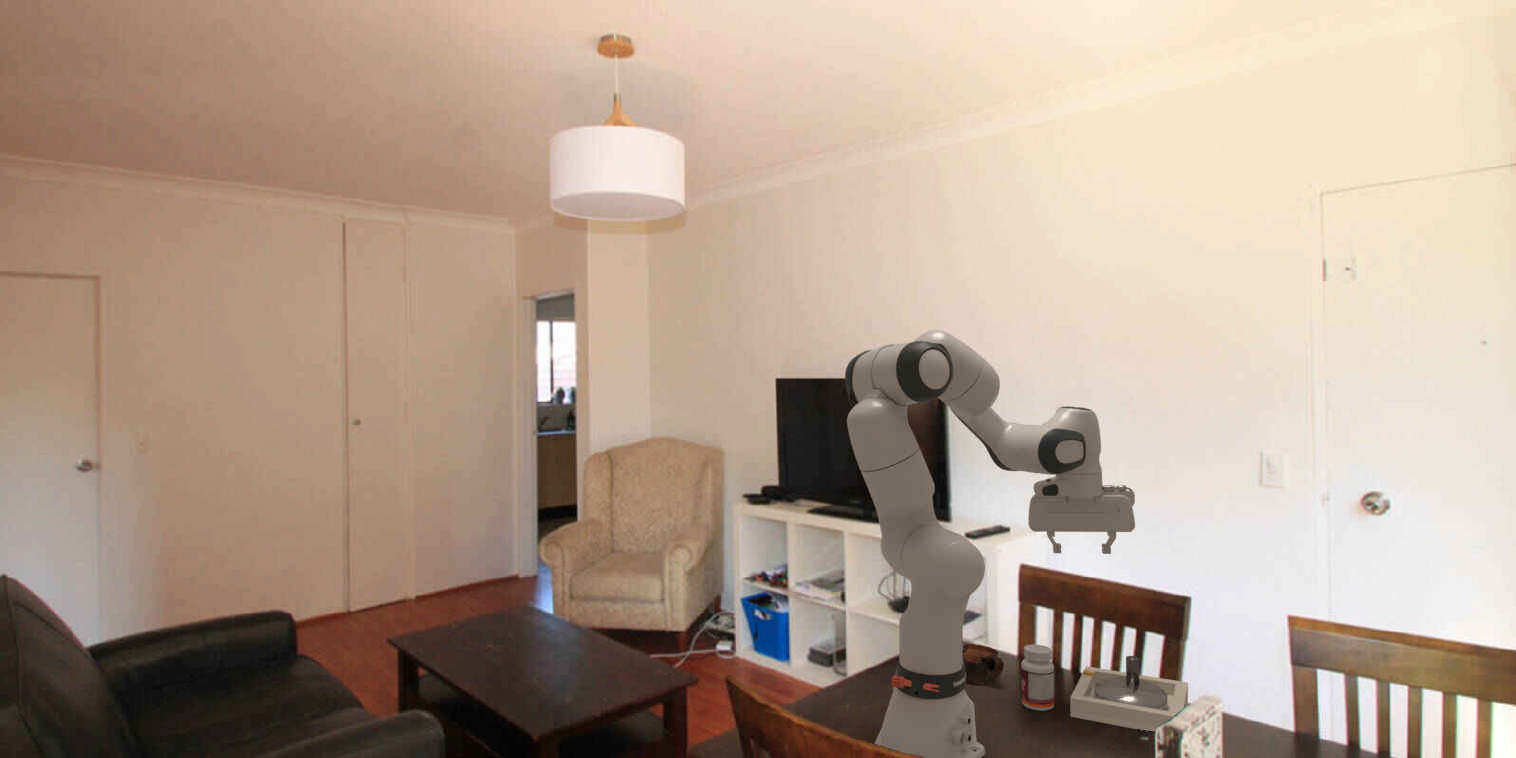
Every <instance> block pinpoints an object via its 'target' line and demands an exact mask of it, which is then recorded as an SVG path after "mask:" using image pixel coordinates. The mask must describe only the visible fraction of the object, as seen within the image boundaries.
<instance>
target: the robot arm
mask: <svg viewBox="0 0 1516 758" xmlns="http://www.w3.org/2000/svg"><path fill="white" fill-rule="evenodd" d="M844 383H845V390H846V393H847V395H848V401H849V403H850V405H851V408H852V409H850V411H849V413H848V415H847V417H846V418H847V419H846V424H847V425H846V426H847V431H848V436H849V439H850V440H849V441H850V445H851V446H852V450H853V454H854V456H855V459H856V461H857V464H858V465H857V466H858V467H859V470H860V472H861V475H862V477H863V480H864V482H865V484H866V486H867V489H868V492H869V494H870V497H871V499H872V502H873V505H874V507H875V511H876V514H877V518H878V522H879V527H880V533H881V539H880V551H881V555H882V556H883V558H884V559H885V561H886V563H887V564H888V565H889V566H890V568H892V569H893V571H894V572H895V573H897V574H898V575H900V576H901V577H903V578H905V579H907V580H909V582H910V588H911V590H910V597H909V600H908V605H907V608H906V610H905V611H904V612H903V613H902V614H901V615H900V618H899V622H898V628H899V630H898V638H899V641H898V642H899V647H898V648H899V659H898V661H897V664H896V669H895V674H893V676H892V677H891V685H892V690H893V691H892V694H891V697H890V699H889V703H888V707H887V709H886V712H885V715H884V719H883V721H882V722H883V723H882V726H881V728H880V731H879V733H878V735H877V737H876V740H875V742H874V744H878V745H881V746H884V747H887V748H891V749H893V750H897V751H900V752H903V753H908V754H913V755H919V756H923V757H925V758H982V757H984V756H985V755H986V750H985V746H984V745H983V744H982V743H980V742H979V741H977V731H976V717H975V716H976V715H975V703H974V702H973V701H972V700H971V699H970V697H969V696H968V694H967V691H966V690H965V688H966V682H967V681H966V672H965V666H964V660H963V650H964V647H963V646H964V644H963V641H964V640H963V633H964V632H963V631H964V630H963V629H964V620H965V613H966V611H967V610H966V609H967V607H968V604H969V599H970V597H971V596H972V595H973V593H974V592H976V591H977V590H978V588H979V587H980V586H981V584H982V582H983V580H984V576H985V573H986V564H985V559H984V556H983V554H982V553H981V551H980V550H979V549H978V547H976V546H975V545H974V544H973V543H972V542H971V541H970V540H969V539H968V538H966V537H965V536H964V535H962V534H960V533H958V532H955V531H953V530H949V529H947V528H944V527H943V526H942V525H941V524H940V523H939V521H938V519H937V516H936V514H935V509H934V501H933V496H934V493H935V491H936V490H935V483H934V480H933V477H932V475H931V472H930V471H929V470H930V469H929V468H928V465H927V463H926V460H925V457H924V455H923V453H922V450H921V448H920V446H919V443H918V441H917V438H916V436H915V435H914V432H913V430H912V428H911V426H910V425H909V420H908V410H909V409H908V406H910V405H913V404H914V405H915V404H918V403H927V402H930V401H933V400H935V399H937V398H938V399H939V400H941V402H942V403H944V404H946V406H948V408H949V409H950V410H951V412H952V413H953V414H954V416H955V417H956V418H957V419H958V420H959V421H960V422H961V424H963V425H964V426H965V427H966V428H967V429H968V430H969V431H970V432H971V433H972V434H973V435H974V436H975V437H976V438H977V439H978V440H979V441H980V442H981V443H982V444H983V446H984V447H985V448H986V450H987V453H988V454H989V456H990V459H991V460H992V461H993V463H994V465H996V467H998V468H999V469H1001V470H1003V471H1006V472H1024V473H1025V472H1027V473H1033V474H1041V475H1050V476H1051V475H1052V476H1051V477H1047V478H1045V479H1042V480H1038V481H1036V482H1034V484H1033V492H1034V494H1033V495H1032V496H1031V498H1030V501H1029V506H1028V507H1029V508H1028V516H1027V517H1028V518H1027V519H1028V527H1029V529H1030V530H1031V531H1032V532H1035V533H1036V532H1038V533H1039V532H1040V533H1045V532H1046V535H1047V538H1048V540H1049V541H1050V543H1051V544H1052V552H1053V554H1062V544H1061V543H1060V542H1059V543H1058V542H1057V543H1056V541H1055V539H1054V538H1055V534H1056V533H1055V532H1058V533H1059V532H1060V533H1063V532H1064V533H1067V532H1068V533H1069V532H1070V533H1071V532H1072V533H1077V532H1078V533H1107V535H1106V536H1108V539H1107V540H1106V542H1105V543H1101V553H1102V554H1103V555H1111V554H1112V545H1113V544H1114V542H1115V540H1116V539H1117V533H1132V531H1134V530H1135V528H1136V521H1135V515H1134V514H1135V513H1134V510H1133V506H1134V504H1135V503H1136V496H1135V495H1136V494H1135V492H1134V491H1133V489H1131V488H1130V487H1128V486H1126V485H1123V484H1122V485H1121V484H1119V485H1110V484H1109V485H1105V484H1103V470H1102V469H1103V468H1102V466H1101V464H1100V463H1101V462H1100V455H1101V453H1102V442H1101V440H1102V438H1101V430H1100V429H1101V428H1100V424H1099V419H1098V417H1097V414H1096V413H1095V411H1094V410H1092V409H1090V408H1088V407H1087V408H1086V407H1081V406H1079V407H1077V406H1060V407H1058V408H1057V409H1056V412H1055V414H1054V415H1053V416H1052V417H1050V419H1048V421H1045V422H1044V423H1042V424H1041V425H1040V424H1039V425H1037V424H1036V425H1035V424H1022V423H1016V422H1010V421H1006V420H1004V419H1003V418H1002V417H1001V416H1000V415H999V414H998V413H997V412H996V411H995V410H994V409H993V408H992V406H993V405H994V404H995V402H996V400H997V399H998V396H999V393H1000V386H1001V382H1000V377H999V374H998V373H997V371H996V369H994V367H993V366H992V365H991V364H990V363H989V362H988V361H987V360H986V359H985V358H984V357H983V356H982V355H980V354H979V353H978V352H976V350H974V349H973V348H972V347H970V346H969V345H968V344H967V343H965V342H963V341H962V340H960V339H959V338H957V337H955V336H954V335H952V334H950V333H948V332H947V331H944V330H940V329H931V330H927V331H926V332H924V333H922V334H921V335H919V336H918V337H916V339H915V340H914V341H910V342H905V343H896V344H894V343H893V344H892V343H890V344H887V345H882V346H879V347H876V348H874V349H869V350H865V351H862V352H860V353H859V354H857V355H856V356H855V357H853V358H852V359H851V360H849V362H848V364H847V366H846V367H845V375H844Z"/></svg>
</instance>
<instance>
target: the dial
mask: <svg viewBox="0 0 1516 758" xmlns="http://www.w3.org/2000/svg"><path fill="white" fill-rule="evenodd" d="M1125 673H1126V679H1125V678H1109V679H1103V680H1100V681H1098V682H1096V683H1095V685H1094V697H1095V698H1096V699H1102V700H1107V701H1113V702H1119V703H1124V704H1130V705H1135V706H1141V707H1147V708H1152V709H1158V710H1163V711H1165V710H1166V709H1167V693H1166V692H1165V691H1164V690H1163V689H1161V688H1159V687H1157V686H1155V685H1153V684H1150V683H1147V682H1143V681H1139V675H1140V658H1139V657H1138V656H1134V655H1127V656H1126V657H1125Z"/></svg>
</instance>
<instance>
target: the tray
mask: <svg viewBox="0 0 1516 758" xmlns="http://www.w3.org/2000/svg"><path fill="white" fill-rule="evenodd" d="M1109 678H1125V679H1126V671H1125V672H1124V671H1118V670H1112V669H1105V668H1101V667H1100V668H1099V667H1092V666H1085V668H1084V669H1083V671H1082V674H1081V675H1080V678H1079V679H1078V682H1077V684H1076V685H1075V688H1074V690H1073V691H1072V694H1070V695H1071V696H1070V698H1069V703H1070V704H1069V705H1070V706H1069V707H1070V709H1069V710H1070V711H1069V713H1070V715H1069V716H1070V717H1071V718H1076V719H1081V720H1086V721H1092V722H1098V723H1102V724H1108V725H1112V726H1118V727H1122V728H1127V729H1133V730H1138V729H1140V730H1139V731H1143V730H1146V731H1145V732H1148V731H1153V732H1154V731H1155V730H1156V728H1157V727H1158V726H1159V725H1161V724H1162V723H1164V722H1167V721H1168V720H1170V719H1171V718H1173V717H1174V715H1176V714H1177V713H1178V712H1179V711H1181V710H1182V709H1183V708H1184V705H1185V704H1187V705H1188V701H1189V700H1188V699H1189V690H1188V689H1189V688H1188V687H1189V683H1188V682H1186V681H1180V680H1174V679H1168V678H1167V679H1166V678H1161V677H1156V676H1149V675H1143V674H1139V681H1143V682H1147V683H1150V684H1153V685H1155V686H1157V687H1159V688H1161V689H1163V690H1164V691H1165V692H1166V693H1167V709H1166V710H1165V711H1163V710H1158V709H1152V708H1147V707H1141V706H1135V705H1130V704H1124V703H1119V702H1113V701H1107V700H1102V699H1096V698H1095V697H1094V685H1095V683H1096V682H1098V681H1100V680H1103V679H1109ZM1153 732H1152V733H1153Z"/></svg>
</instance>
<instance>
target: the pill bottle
mask: <svg viewBox="0 0 1516 758" xmlns="http://www.w3.org/2000/svg"><path fill="white" fill-rule="evenodd" d="M1023 656H1024V659H1023V660H1022V661H1021V667H1020V668H1021V669H1020V670H1021V703H1022V705H1023V706H1024V707H1025V708H1026V709H1030V710H1033V711H1034V710H1035V711H1040V712H1042V711H1043V712H1046V711H1050V710H1052V709H1053V708H1054V706H1055V666H1054V664H1053V662H1052V661H1051V660H1052V659H1053V658H1052V649H1051V648H1050V647H1048V646H1046V645H1042V644H1034V643H1033V644H1027V645H1025V646H1024V647H1023Z"/></svg>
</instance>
